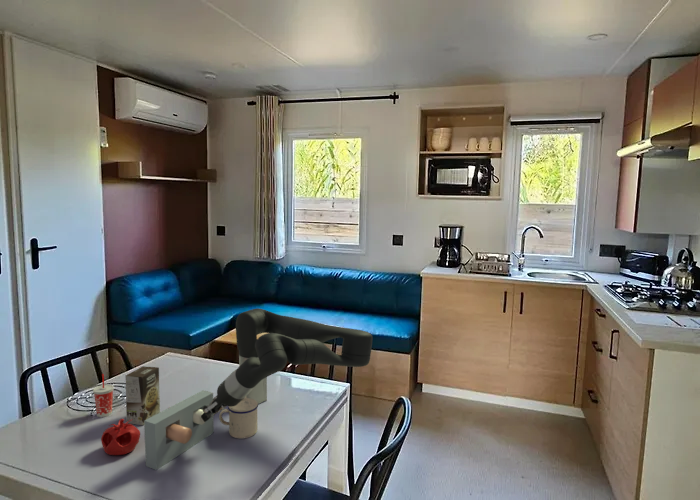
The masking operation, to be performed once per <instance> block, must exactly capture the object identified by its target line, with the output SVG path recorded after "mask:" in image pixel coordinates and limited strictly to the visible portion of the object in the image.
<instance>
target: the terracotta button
mask: <svg viewBox="0 0 700 500" xmlns="http://www.w3.org/2000/svg"><path fill="white" fill-rule="evenodd" d="M191 436H192V430H191V429H190V428H187V427H184V426H180V425H177V424H174V423H172V424H170V425H169V426H167V427H166V438H168V439H171V440H174V441H177V442H180V443H183V444H185V443H187V442H188V441H189V440H190V438H191Z"/></svg>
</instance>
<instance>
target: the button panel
mask: <svg viewBox="0 0 700 500" xmlns="http://www.w3.org/2000/svg"><path fill="white" fill-rule="evenodd" d="M213 398H214V393H213V392H212V391H207V390H204V389H203V390H200V391H199V392H197V393H194V394H193V395H191V396H189V397H187V398H185V399H183V400H181V401H179V402H178V403H175V404H174V405H171V406H170V407H168V408H166V409H165V410H162V411H160V413H158V414H156V415H154V416H152V417H150V418H148V419H147V420H145V421H144V425H143V426H144V450H145V451H144V452H145V453H144V455H145V458H144V459H145V467H147V468H150V469H153V470H155V471H157V470H159V469H160V468H162V467H164V466H165V465H166V464H168V463H169V462H171V461H173V460H174V459H176V458H177V457H178V456H180V455H182V454H183V453H185V452H186V451H188V450H189V449H191V448H192V447H194V446H195V445H197V444H199V443H200V442H202V441H203V440H205V439H206V438H208V437H209V436H211V435H212V434H214V432H215V430H214V428H215V427H214V426H215V425H214V415H213V416H212V417H211V418H210V419H209V420H207V421H206V422H205V423H204V424H202V425H201V424H197V423H194V422H193V411H195V410H197V409H202V410H203V407H204V406H207V405H208V406H209V404H210V403H211V402H212V401H213ZM172 423H174V424H177V425H180V426H184V427H187V428H190V429H191V430H192V436H191V438H190V440H189V441H188V442H187V443H185V444H183V443H180V442H177V441H174V440H171V439H168V438H166V427H167V426H169V425H170V424H172Z"/></svg>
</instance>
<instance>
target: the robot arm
mask: <svg viewBox="0 0 700 500" xmlns="http://www.w3.org/2000/svg"><path fill="white" fill-rule="evenodd" d="M260 334H262V335H260ZM235 335H236V336H235V337H236V340H235V341H236V347H237V350H238V358H239V359H238V362H239V363H238V367H237V368H236V369H235V370H234V371H232V372H231V373H230V374H229V375H228V376H227V377H226V378H225V379H224V380H223V381H222V382H221V383H220V384H219V385H218V386H217V389H216V395H215V396H213V401H212V402H211V403H210V404H209V406H208V405H207V406H204V407H203V412H204V413H203V414H202V415H201V418H202V419H203V421H204V422H206V421H207V420H209V419H210V418H211V417H212V416H213V417H214V416H215V415H216V414H217V413H218V414H219V413H220V412H221V411H222V410H224V409H226V407H228V406H230V407H232V406H236V405H237V404H238V403H239V402H240V401H242V400H243V399H244V398H245V397H247V398H251V399H254V400H256V401H257V403H258V405H259V404H261V403H263V402H266V401H267V400H268V377H269V376H271V375H272V376H273V375H274V374H276V373H279V372H281V371H282V370H283V369H285V367H286V365H287V363H289V364H290V365H295V366H297V365H298V366H299V365H311V364H312V365H315V364H317V365H328V366H337V367H351V368H355V367H356V368H361V367H363V368H364V367H366V366H368V365H369V364H370V361H371V355H372V346H373V338H374V337H373V334H371V333H370V332H368V331H366V330H362V329H355V328H348V327H343V326H335V325H330V324H329V325H328V324H325V323H321V322H316V321H312V320H309V319H304V318H298V317H293V316H288V315H287V316H286V315H281V314H278V313H275V312H272V311H269V310H266V309H263V308H259V307H258V308H252V309H249V310H246V311H243V312H241V313H239V314H238V315H237V317H236V320H235ZM258 335H260V336H259V337H257V336H258ZM337 338H338V339H339V338H341V339H342V345H341V354H337V353H336V352H334V351H332V350H331V349H330V348H329V347H328V346H327V345H325V343H326V342H328V341H330V340H333V339H337Z"/></svg>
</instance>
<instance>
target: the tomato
mask: <svg viewBox="0 0 700 500" xmlns="http://www.w3.org/2000/svg"><path fill="white" fill-rule="evenodd" d="M132 420H133V419H132ZM132 420H129V421H132ZM124 421H125V419H124V418H120V419H119V420H118V423H117V424H115V423H112V424H109V425H108V427H107V428H106V429H105V430H104V431H103V432H102V435H101V438H100V441H101V445H102V449H103V451H104V452H105V454H107V455H110V456H123V455H126V454H128V453H129V454H130V453H132V452H133V451H134V450H135V449H136V447H137V445H138V444H139V442H140V438H141V430H140V429H139V428H137V427H136V426H135V425H134V424H130V423H128V422H129V421H128V422H127V421H126V422H124ZM110 426H111V427H110Z"/></svg>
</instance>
